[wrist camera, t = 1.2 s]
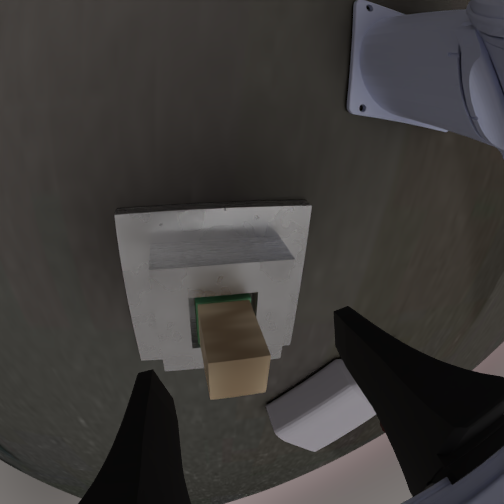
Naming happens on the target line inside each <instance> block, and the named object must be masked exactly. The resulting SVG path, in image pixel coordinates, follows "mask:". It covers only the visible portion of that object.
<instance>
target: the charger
mask: <svg viewBox="0 0 504 504" xmlns="http://www.w3.org/2000/svg"><path fill="white" fill-rule="evenodd" d="M266 409H267V412H268V414H269V417H270V420H271V423H272V426H273V429H274V432H275V434H276V435H277V436H278V437H279V438H280V439H282V440H283V441H286V442H288V443H291V444H293V445H296V446H299V447H302V448H305V449H308V450H310V451H314V452H315V451H317V450H319V449H321V448H323V447H325V446H326V445H328V444H330V443H331V442H333V441H335V440H337V439H338V438H340V437H342V436H343V435H345V434H347V433H348V432H350V431H351V430H353V429H355V428H356V427H358V426H359V425H361V424H362V423H364V422H365V421H367V420H368V419H370V418H371V417H373V416H374V415H376V413H375V411H374V409H373V407H372V406H371V404H370V403H369V401H368V400H367V398H366V397H365V395H364V394H363V392H362V391H361V389H360V388H359V386H358V385H357V383H356V382H355V380H354V379H353V377H352V376H351V374H350V372H349V371H348V369H347V368H346V366H345V364H344V362H343V360H342V359H335V360H334V361H333V362H331V363H330V364H328V365H327V366H326V367H324V368H323V369H321V370H320V371H318V372H317V373H316V374H314V375H313V376H311V377H310V378H308V379H307V380H305V381H304V382H302V383H301V384H299V385H298V386H296V387H295V388H293V389H291V390H290V391H288V392H287V393H285V394H284V395H282V396H281V397H279V398H277V399H276V400H274V401H272V402H271V403H269V404H268V405H266Z"/></svg>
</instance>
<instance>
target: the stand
mask: <svg viewBox="0 0 504 504" xmlns="http://www.w3.org/2000/svg"><path fill="white" fill-rule="evenodd" d="M311 209H312V205H311V204H310V203H309V202H307V201H306V200H282V201H245V202H218V203H197V204H178V205H161V206H146V207H132V208H119V209H116V212H115V214H114V217H115V225H116V232H117V239H118V246H119V253H120V259H121V265H122V271H123V277H124V283H125V288H126V293H127V299H128V304H129V309H130V313H131V318H132V323H133V327H134V332H135V336H136V340H137V344H138V349H139V353H140V357H141V361H143V360H159V359H163V363H164V368H165V371H175V370H187V369H198V368H204V363H203V357H202V352H201V346H200V343H198V338H197V328H196V315H195V301H194V298H197V297H209V296H220V295H232V294H242V293H249V294H250V297H251V305H252V308H253V311H254V313H255V316H256V318H257V321H258V324H259V326H260V329H261V331H262V334H263V336H264V339H265V342H266V344H267V347H268V349H269V352H270V354H271V358H270V359H276V358H280V357H281V351H282V346H285V345H290V342H291V337H292V331H293V325H294V320H295V314H296V308H297V302H298V296H299V290H300V284H301V278H302V271H303V265H304V258H305V251H306V245H307V238H308V231H309V223H310V216H311Z"/></svg>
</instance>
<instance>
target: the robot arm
mask: <svg viewBox="0 0 504 504" xmlns="http://www.w3.org/2000/svg"><path fill="white" fill-rule="evenodd" d="M366 6H368V7H369V8H370V12H369V11H368V10H367V8H366ZM361 104H362V106H363V109H362V111H360V110H359V107H360V105H361ZM347 110H348V112H349V113H351V114H354V115H361V116H367V117H374V118H380V119H385V120H391V121H396V122H402V123H407V124H412V125H416V126H421V127H426V128H430V129H434V130H439V131H443V132H447V131H451V132H454V133H457V134H460V135H463V136H466V137H469V138H472V139H475V140H478V141H480V142H483V143H486V144H488V145H491V146H494V147H496V148H497V149H498V150H499V151H500V152H501V154H502V157H503V159H504V0H470V2H469V3H468V5H467V8H466V9H463V10H446V11H434V12H424V13H416V14H408V15H405V14H403V13H400V12H397V11H395V10H392V9H389V8H387V7H384V6H381V5H378V4H375V3H372V2H369V1H366V0H357V1H355V2H354V6H353V29H352V46H351V61H350V74H349V86H348V97H347ZM334 326H335V345H336V348H337V350H338V352H339V354H340V356H341V358H342V360H343V362H344V364H345V366H346V368H347V369H348V371H349V372H350V374H351V376H352V377H353V379H354V380H355V382H356V383H357V385H358V386H359V388H360V389H361V391H362V392H363V394H364V395H365V397H366V398H367V400H368V401H369V403H370V404H371V406H372V407H373V409H374V411H375V413H376V414H377V416H378V418H379V420H380V422H381V424H382V426H383V428H384V430H385V432H386V434H387V436H388V439H389V441H390V443H391V445H392V447H393V449H394V452H395V454H396V457H397V459H398V461H399V464H400V466H401V468H402V471H403V473H404V476H405V479H406V482H407V484H408V487H409V490H410V492H411V494H412V496H413V497H412V498H410V499H409V500H407V501H405V502H403V503H401V504H504V377H500V376H494V375H488V374H483V373H478V372H474V371H470V370H466V369H463V368H460V367H457V366H454V365H451V364H448V363H445V362H442V361H440V360H437V359H435V358H433V357H430V356H428V355H426V354H424V353H422V352H420V351H418V350H416V349H414V348H412V347H410V346H408V345H406V344H405V343H403V342H401V341H399V340H398V339H396V338H394V337H393V336H391V335H390V334H388V333H386V332H385V331H383V330H382V329H380V328H379V327H377V326H376V325H374V324H373V323H371V322H370V321H368V320H367V319H366V318H364V317H363V316H361V315H360V314H359V313H357V312H356V311H355V310H353V309H352V308H350V307H349V306H347V307H344V308H342V309H339V310H336V311H334ZM78 504H191V502H190V499H189V495H188V491H187V487H186V483H185V479H184V474H183V468H182V459H181V449H180V439H179V428H178V420H177V415H176V410H175V405H174V401H173V398H172V396H171V395H170V393H169V392H168V391H167V389H166V388H165V386H164V385H163V384H162V382H161V381H160V379H159V378H158V376H157V375H156V373H155V372H154V370H149V371H145V372H141V373H138V375H137V378H136V381H135V384H134V388H133V391H132V394H131V397H130V400H129V403H128V406H127V409H126V412H125V415H124V418H123V421H122V423H121V426H120V428H119V431H118V433H117V436H116V439H115V441H114V443H113V446H112V448H111V450H110V452H109V454H108V456H107V458H106V460H105V462H104V464H103V466H102V468H101V470H100V471H99V473H98V475H97V477H96V478H95V480H94V482H93V483H92V485H91V486H90V488H89V489H88V491H87V492H86V494H85V495H84V497H83V498H82V499H81V501H80V502H79V503H78Z"/></svg>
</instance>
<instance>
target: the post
mask: <svg viewBox="0 0 504 504" xmlns="http://www.w3.org/2000/svg"><path fill="white" fill-rule="evenodd" d="M194 301H195V315H196V328H197V338H198V343H200V346H201V352H202V357H203V363H204V369H205V374H206V380H207V385H208V390H209V395H210V400H213V399H221V398H229V397H237V396H244V395H250V394H257V393H263V392H266V386H267V379H268V372H269V365H270V358H271V354H270V352H269V349H268V347H267V344H266V342H265V339H264V336H263V334H262V331H261V329H260V326H259V324H258V321H257V318H256V316H255V313H254V311H253V308H252V305H251V297H250V294H249V293H242V294H232V295H220V296H209V297H197V298H194Z"/></svg>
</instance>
